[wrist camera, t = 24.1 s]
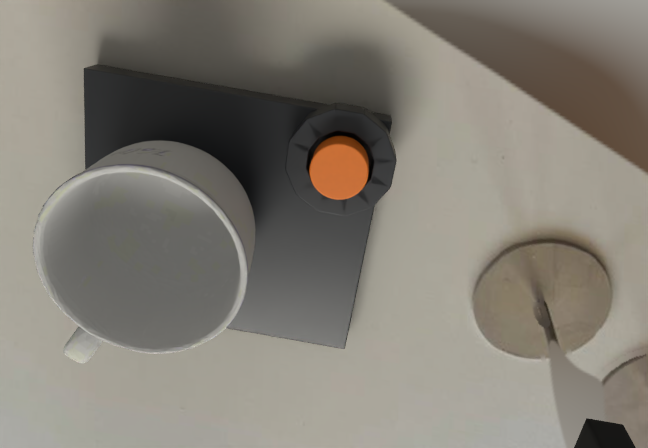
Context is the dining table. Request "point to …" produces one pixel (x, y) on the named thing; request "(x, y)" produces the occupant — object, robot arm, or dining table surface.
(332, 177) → the button
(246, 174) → the scale
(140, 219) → the teacup
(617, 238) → the dining table surface
